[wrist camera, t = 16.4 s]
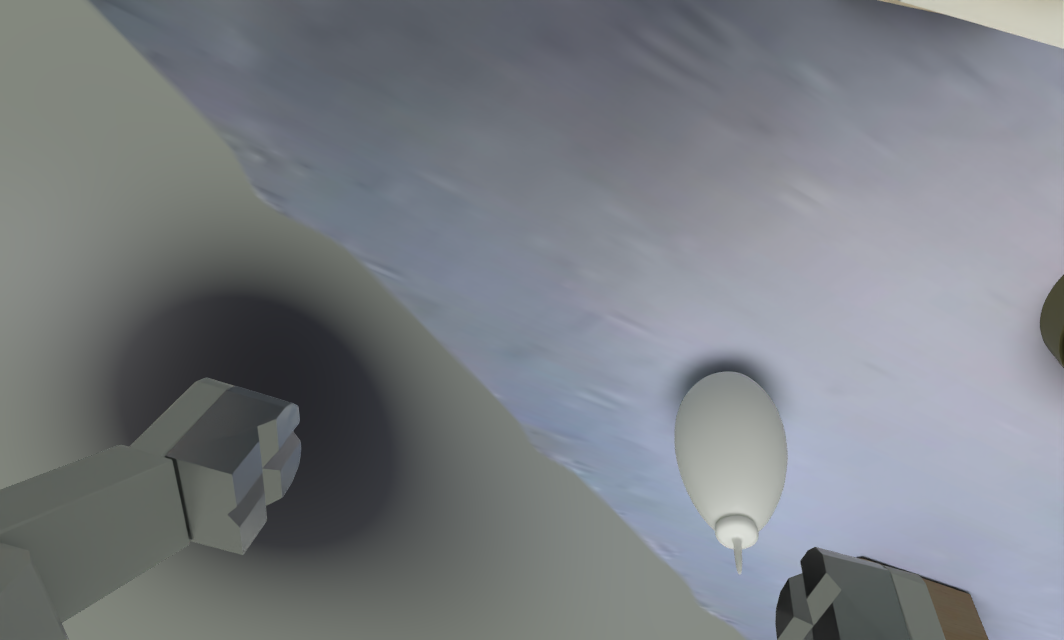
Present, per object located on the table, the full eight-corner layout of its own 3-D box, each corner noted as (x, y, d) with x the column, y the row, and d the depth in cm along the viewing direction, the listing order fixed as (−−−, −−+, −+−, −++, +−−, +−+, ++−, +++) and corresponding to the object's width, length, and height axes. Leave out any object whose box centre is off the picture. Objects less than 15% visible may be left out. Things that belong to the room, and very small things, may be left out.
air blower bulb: (753, 334, 50) (780, 517, 35) (790, 406, 53) (829, 603, 38) (660, 366, 54) (650, 546, 39) (699, 433, 57) (704, 623, 42)
